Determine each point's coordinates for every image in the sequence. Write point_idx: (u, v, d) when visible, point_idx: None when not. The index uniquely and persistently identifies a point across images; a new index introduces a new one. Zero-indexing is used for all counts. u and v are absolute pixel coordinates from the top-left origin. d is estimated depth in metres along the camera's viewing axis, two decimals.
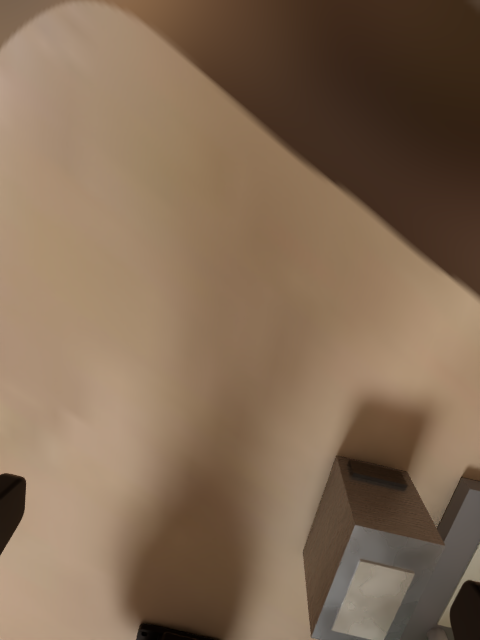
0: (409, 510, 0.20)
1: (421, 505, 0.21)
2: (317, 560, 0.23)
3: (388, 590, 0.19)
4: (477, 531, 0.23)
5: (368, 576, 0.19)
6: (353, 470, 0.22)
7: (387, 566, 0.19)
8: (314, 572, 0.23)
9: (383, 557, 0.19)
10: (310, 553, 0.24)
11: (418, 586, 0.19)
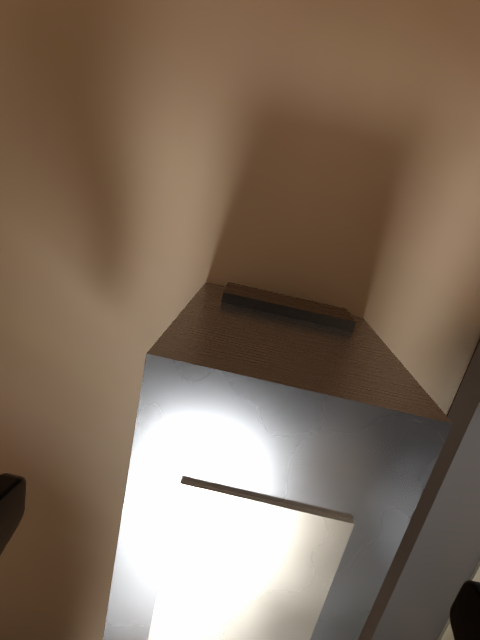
0: (350, 355, 0.07)
1: (386, 354, 0.08)
2: None
3: (278, 578, 0.06)
4: None
5: (216, 534, 0.06)
6: (226, 290, 0.09)
7: (270, 502, 0.06)
8: None
9: (254, 469, 0.06)
10: None
11: (368, 564, 0.06)
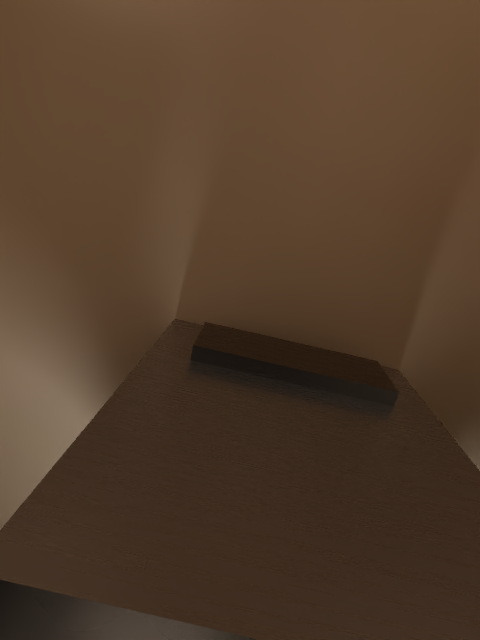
0: (405, 479, 0.04)
1: (458, 460, 0.05)
2: None
3: None
4: None
5: None
6: (198, 341, 0.06)
7: None
8: None
9: None
10: None
11: None
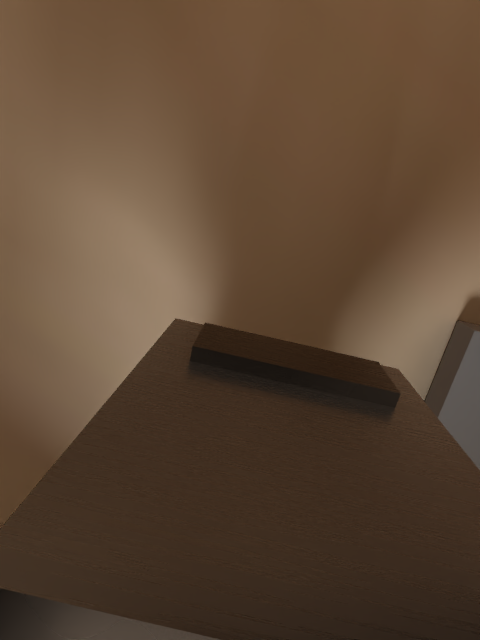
0: (407, 482, 0.04)
1: (461, 463, 0.05)
2: None
3: None
4: None
5: None
6: (198, 342, 0.06)
7: None
8: None
9: None
10: None
11: None
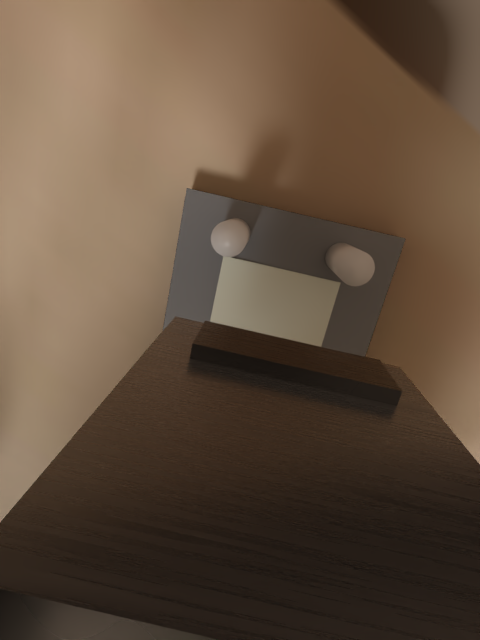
0: (410, 480, 0.04)
1: (464, 461, 0.05)
2: None
3: None
4: (212, 264, 0.16)
5: None
6: (198, 339, 0.06)
7: None
8: None
9: None
10: None
11: None
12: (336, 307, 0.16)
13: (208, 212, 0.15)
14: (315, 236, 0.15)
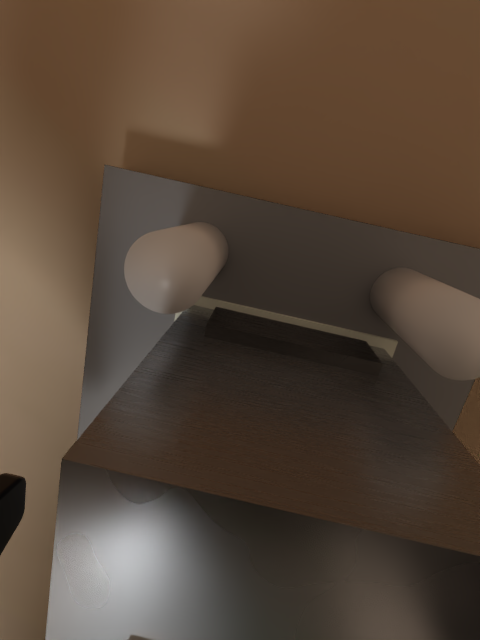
0: (382, 425, 0.05)
1: (429, 415, 0.06)
2: None
3: None
4: None
5: None
6: (211, 320, 0.07)
7: None
8: None
9: (242, 630, 0.04)
10: None
11: None
12: None
13: (148, 210, 0.08)
14: (351, 256, 0.08)
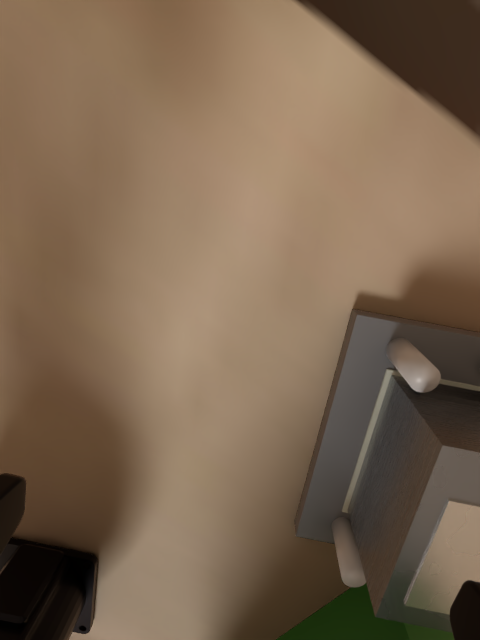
0: None
1: None
2: (375, 513, 0.17)
3: None
4: (375, 376, 0.18)
5: (460, 524, 0.13)
6: None
7: None
8: (371, 530, 0.17)
9: None
10: (361, 509, 0.18)
11: None
12: None
13: (375, 333, 0.17)
14: (471, 351, 0.17)
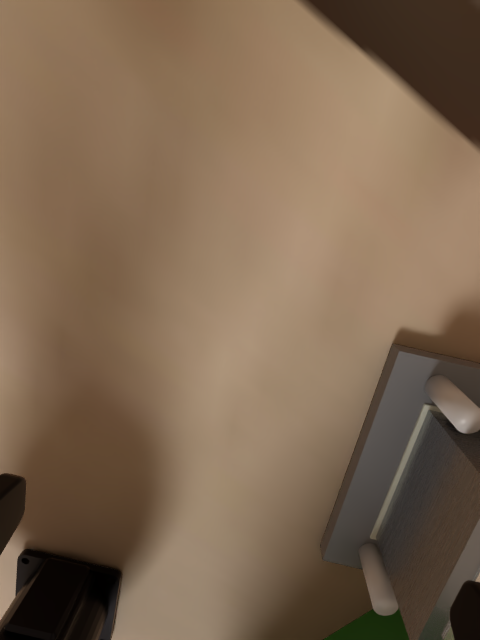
0: None
1: None
2: (410, 546, 0.17)
3: None
4: (412, 410, 0.18)
5: None
6: None
7: None
8: (405, 562, 0.17)
9: None
10: (392, 539, 0.19)
11: None
12: None
13: (415, 369, 0.18)
14: None
